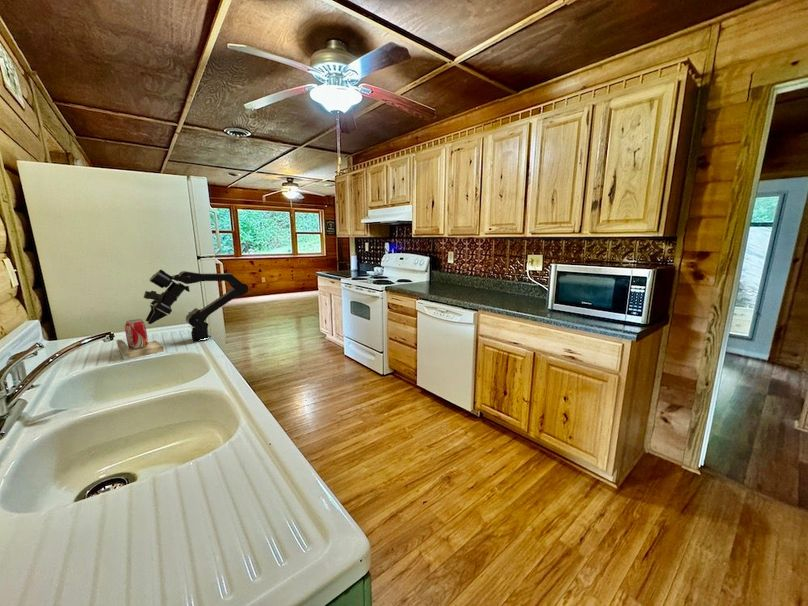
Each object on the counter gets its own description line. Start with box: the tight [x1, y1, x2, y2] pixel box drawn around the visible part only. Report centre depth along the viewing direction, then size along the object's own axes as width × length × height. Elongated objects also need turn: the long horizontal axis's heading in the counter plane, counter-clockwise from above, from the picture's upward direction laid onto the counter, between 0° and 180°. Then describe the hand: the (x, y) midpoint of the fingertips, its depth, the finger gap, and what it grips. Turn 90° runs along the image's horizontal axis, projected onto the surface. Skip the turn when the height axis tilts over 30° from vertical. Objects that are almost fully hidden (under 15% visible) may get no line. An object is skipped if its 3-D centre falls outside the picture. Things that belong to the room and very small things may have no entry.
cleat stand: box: [116, 339, 164, 360], centre depth 145 cm, size 14×12×6 cm
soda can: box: [124, 318, 149, 349], centre depth 143 cm, size 7×7×12 cm
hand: (147, 322), depth 147 cm, fingers open, 9 cm apart
